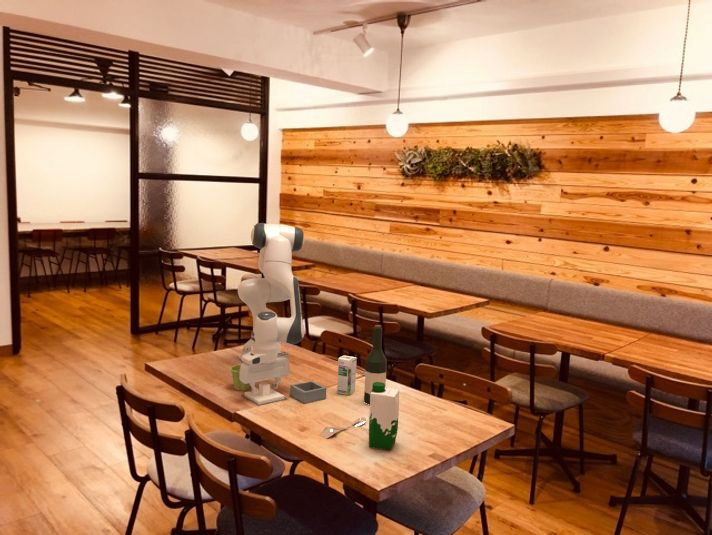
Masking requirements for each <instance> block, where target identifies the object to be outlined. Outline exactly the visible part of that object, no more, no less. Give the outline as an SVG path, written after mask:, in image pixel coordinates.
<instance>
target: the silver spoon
mask: <svg viewBox="0 0 712 535" xmlns="http://www.w3.org/2000/svg"><path fill="white" fill-rule="evenodd" d="M360 420H361V421H360ZM364 423H366V418H365V417H362V416H361V417H358V418H357V419H356V420H355V421H354V422H353V423H351V424H350V425H349V426H348V427H335V426H328V427H324V429H323V430H322V431H321V434H320V435H321V438H324V439H326V440H327V439H329V438H330V437H331V436H333V435H334V434H336V433H337V432H338V431H339V430H344V431H345V430H346V431H347V430H351V429H353V428H354V429H355V428H358V427H360V426H362V425H363V424H364Z"/></svg>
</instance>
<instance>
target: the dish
mask: <svg viewBox="0 0 712 535" xmlns="http://www.w3.org/2000/svg"><path fill="white" fill-rule="evenodd" d="M289 386H290V387H289V390H290V391H289V396H290V397H291V398H293V399H294V400H297V401H298V402H300V403H301V404H303V405H306V404H310V403H316V402H319V401H323V400H327V389H328V388H327V387H326V386H323V385H321V384H320V383H318V382H315V381H314V380H309V381H304V382H303V381H302V382H297V383H294V384H290V385H289Z"/></svg>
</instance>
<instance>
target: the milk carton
mask: <svg viewBox="0 0 712 535" xmlns="http://www.w3.org/2000/svg"><path fill="white" fill-rule="evenodd" d="M399 410H400V389H397V388H392V387H389V386H387V387H386V386H385V384H384V383H381V382H375V383H373V388H372V392H371V393H370V405H369V416H368V417H369V418H368V447H369V448H370V449H371V448H372V449H377V450H382V451H383V450H384V451H392V449H393V447H394V444H395V443H396V440H397V435H398V430H399V426H398V425H399V415H400V413H399V412H400V411H399Z"/></svg>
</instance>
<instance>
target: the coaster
mask: <svg viewBox="0 0 712 535" xmlns="http://www.w3.org/2000/svg"><path fill="white" fill-rule="evenodd" d="M241 397H243V398H244V399H246V400H247V401H249V402H250V403H253V405H256V406H258V407H259V406H263V405H269V404H272V403H277V402H282V401H288V398H287V397H285V396H284V399H282V400H277V401H273V402H268V403H263V404H257V403H256V402H254V401H252V400H251V399H249V398H248V397H246V396H245V394H241Z"/></svg>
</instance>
